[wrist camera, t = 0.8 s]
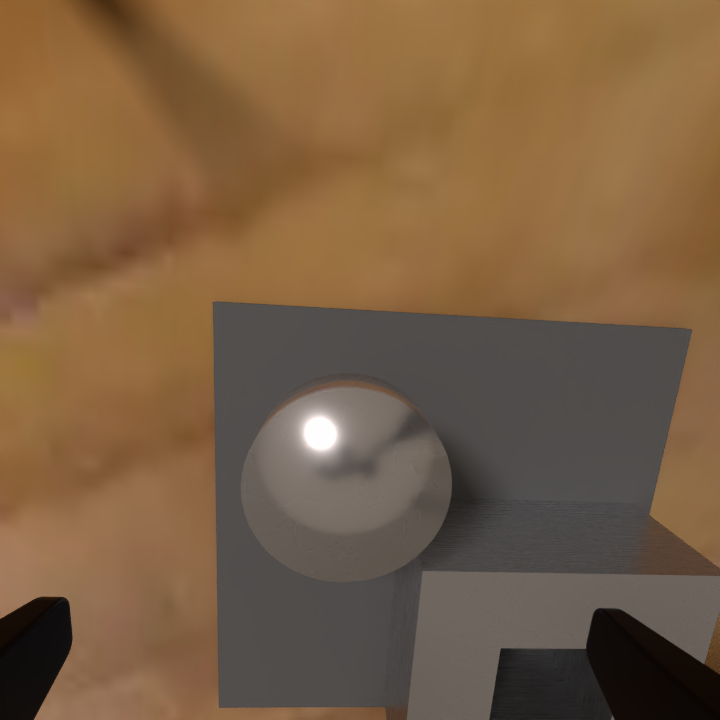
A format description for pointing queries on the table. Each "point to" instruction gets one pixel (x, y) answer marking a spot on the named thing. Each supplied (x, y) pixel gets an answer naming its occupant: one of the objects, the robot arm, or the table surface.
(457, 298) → the table surface
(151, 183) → the table surface
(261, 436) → the silver door knob
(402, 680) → the hitch block
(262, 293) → the table surface
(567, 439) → the mat
